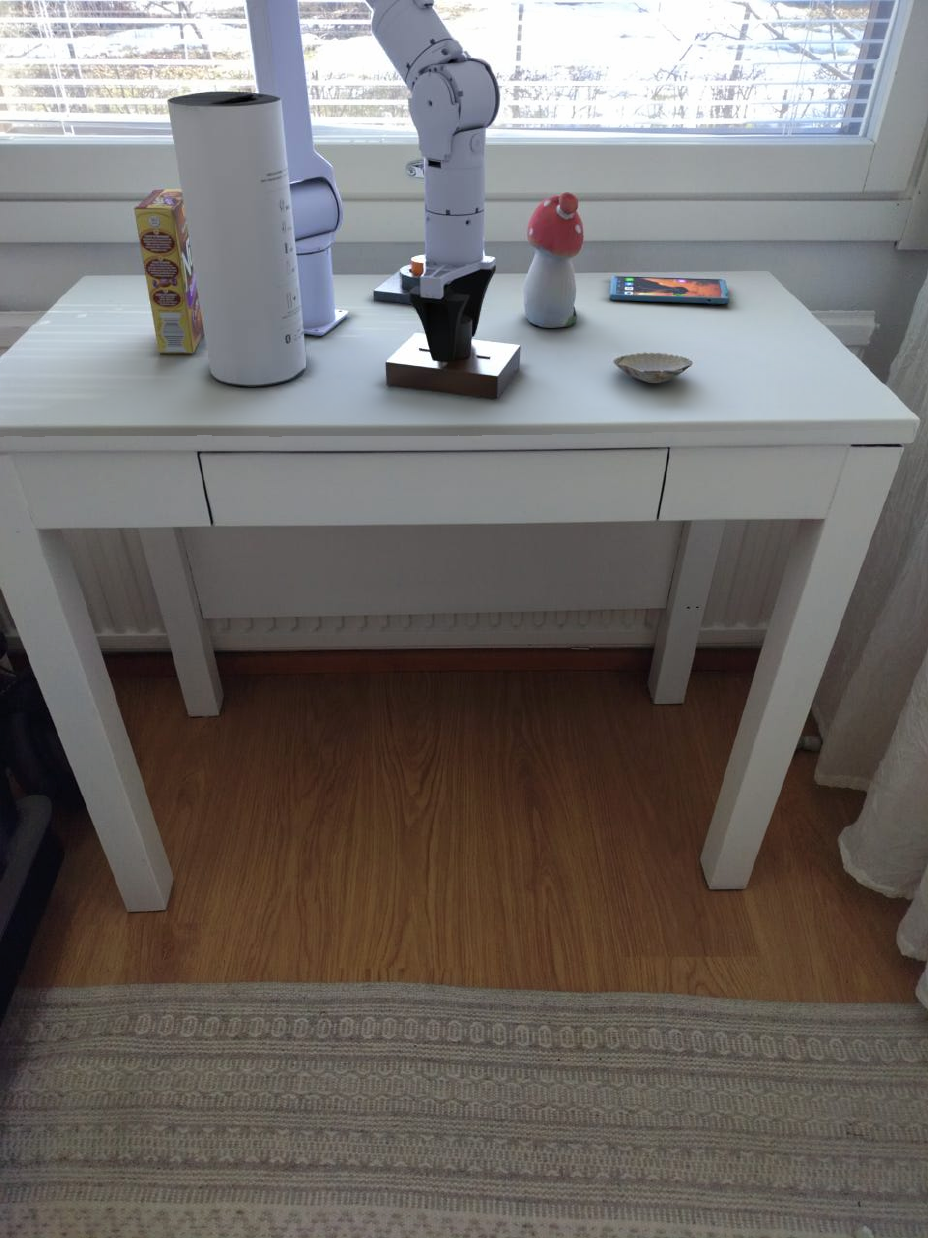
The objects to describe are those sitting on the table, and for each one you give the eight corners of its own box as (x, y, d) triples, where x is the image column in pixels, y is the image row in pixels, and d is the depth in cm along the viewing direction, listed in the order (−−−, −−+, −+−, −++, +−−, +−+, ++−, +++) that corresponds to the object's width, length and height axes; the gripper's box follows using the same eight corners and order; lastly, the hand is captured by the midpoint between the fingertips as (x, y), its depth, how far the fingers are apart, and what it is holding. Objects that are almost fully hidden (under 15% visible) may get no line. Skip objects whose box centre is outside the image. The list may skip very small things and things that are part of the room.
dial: (465, 360, 94) (466, 324, 92) (432, 356, 95) (432, 320, 93) (475, 348, 97) (476, 312, 95) (443, 344, 98) (443, 309, 96)
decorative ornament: (578, 334, 108) (589, 196, 99) (522, 332, 108) (529, 195, 99) (574, 307, 115) (584, 178, 106) (522, 306, 116) (528, 177, 107)
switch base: (373, 299, 117) (372, 275, 116) (398, 279, 124) (397, 256, 123) (455, 308, 115) (455, 284, 113) (476, 287, 122) (476, 264, 120)
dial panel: (386, 384, 96) (385, 360, 94) (415, 354, 103) (415, 330, 101) (497, 399, 93) (497, 374, 91) (519, 367, 100) (520, 343, 98)
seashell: (676, 381, 101) (607, 361, 101) (687, 354, 100) (617, 333, 99) (688, 399, 94) (614, 378, 93) (700, 370, 93) (624, 348, 92)
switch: (407, 275, 117) (407, 261, 116) (417, 267, 120) (416, 253, 119) (434, 278, 116) (434, 263, 115) (443, 270, 119) (443, 256, 118)
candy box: (197, 354, 102) (171, 207, 93) (158, 355, 102) (128, 208, 93) (212, 326, 109) (189, 187, 100) (175, 327, 109) (149, 187, 100)
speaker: (256, 344, 105) (221, 81, 89) (329, 362, 100) (306, 89, 85) (189, 375, 97) (138, 94, 82) (265, 396, 93) (227, 103, 77)
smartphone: (611, 275, 124) (725, 278, 122) (610, 285, 125) (724, 289, 123) (609, 292, 117) (730, 295, 115) (608, 302, 118) (728, 306, 116)
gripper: (472, 230, 81) (470, 377, 89) (514, 194, 92) (509, 328, 100) (397, 223, 83) (402, 368, 91) (447, 189, 94) (448, 321, 102)
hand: (454, 347), depth 96 cm, fingers open, 7 cm apart
